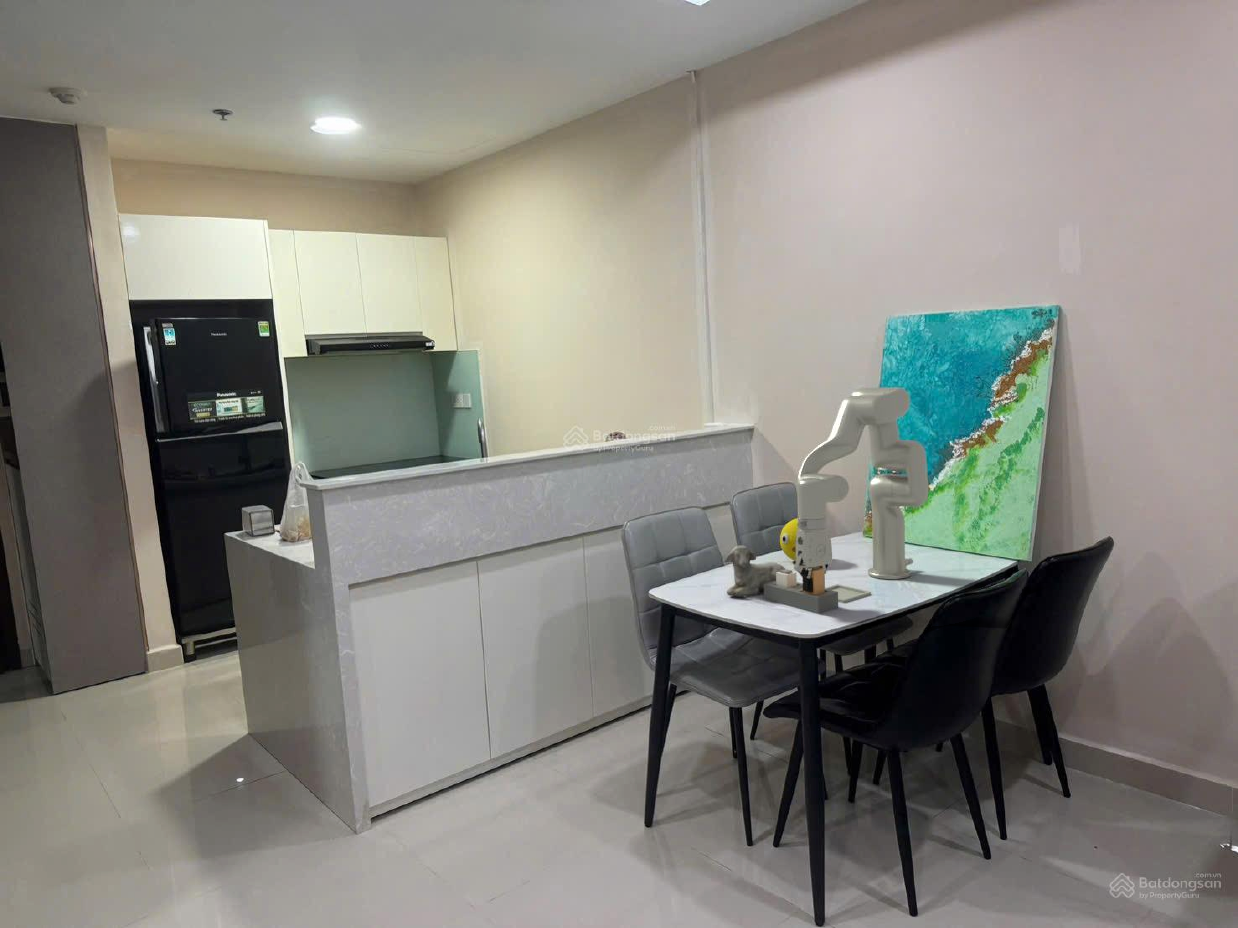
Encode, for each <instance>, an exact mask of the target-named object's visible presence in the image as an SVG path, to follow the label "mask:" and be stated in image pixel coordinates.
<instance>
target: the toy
mask: <svg viewBox="0 0 1238 928" xmlns="http://www.w3.org/2000/svg"><path fill="white" fill-rule="evenodd" d="M797 524H798V517H797V518H794V519H792V520H790V521H789V522H787V523H786V524H784V525H785V526H783V528H782V530H781V532H780V536H779V543H780V547H781V549H782V551H783V553H784V554H785V556H786V557H788V558H789V559H790V560H792V561H795V562H796V537H797V531H798V526H797Z"/></svg>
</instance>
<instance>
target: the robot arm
mask: <svg viewBox="0 0 1238 928" xmlns="http://www.w3.org/2000/svg"><path fill="white" fill-rule="evenodd" d="M910 406H911V398H910V394H909V392H908V391H907V390H906V389H904V388H903V387H894V386H893V387H863V388H862V387H861V388H858V389H854V390H853V391H852V392H851V394H850V396H847V397H844V398H843V399H842V401H841V402H840V404H839V407H838V410H837V411H836V415H835V418H834V420H833V423H832V426H831V428H830V432H829V434H828V436H827V438H826V440H824V441H822V442H821V443H820V444H819V445H818V446H816V447H815V448H814V449H813V450H812V451H811V452H810V453H809V454H807V456H806V457H805V459H804V460H803V462H802V465H801V467H800V469H799V472H798V476H797V479H796V483H795V489H796V493H797V499H796V500H797V518H798V524H797V526H798V531H797V537H796V561H795V563H794V567H793V569H794V570H795V572H796V573H797V572H798V573H799V575H800V577H801V578H802V583H803V591H806V592H810V593H812V592H813V578H811V573H812V568H814V567H818V566H820V568H824V589H825V588H826V587H825V586H826V583H825V582H826V581H825V580H826V579H825V577H826V574H827V569H828V567H829V565H830V564H831V563H832V561H833V549H832V539H831V533H830V529H829V527H828V526H827V503H838V502H841V501H843V500H844V499H845V498H846V497H847V495H848V493H849V491H850V487H849V482H848V481H847V479H846V478H845V477H844V476H840V475H839V474H831V473H830V474H828V473H819V472H820V471H821V470H822V469H823V468H824V467H825V466H826V465H828V464H829V463H832V462H834V461H837V460H839V459H841V458H844V457H847V456H848V455H851V454H853V453H855V451H857V449H858V446H859V444H860V440H861V437H862V435H863V432H864V429H865V427H866V426H867V428H868V435H869V436H868V437H869V447H870V458H871V464H872V466H873V467H874V468H875V469H876V470H878V471H885V472H886V471H887V472H903V473H905V474H895V473H879V474H876V475H874V476H872V478H871V479H870V480H869V483H868V495H869V500H870V505H871V514H872V515H871V516H872V517H871V518H872V567H870V568H869V569H868V570H867V575H869V576H870V577H873V578H875V579H883V580H899V579H907V578H908V577H910V576H911V571H910V569H908V568H907V566H909V565H912V564H914V560H913V558H912V557H909V558H906V547H905V546H906V537H905V536H906V535H905V534H906V533H905V532H906V530H905V529H906V528H905V527H906V521H905V515H904V513H903V512H902V510H901V509H900V507H910V508H919V507H922V506H925V504H926V503H927V500H928V497H929V481H928V480H929V479H928V463H927V454H926V450H925V448H924V446H923V444H922V443H920V442H919V441H916V440H909V439H905V440H904V439H901V438H900V434H899V433H900V432H899V425H898V421H897V420H898V419H900V418H902V417H904V416H905V415H906V413H907V412H908V411H909V409H910ZM806 568H807V571H806Z"/></svg>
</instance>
